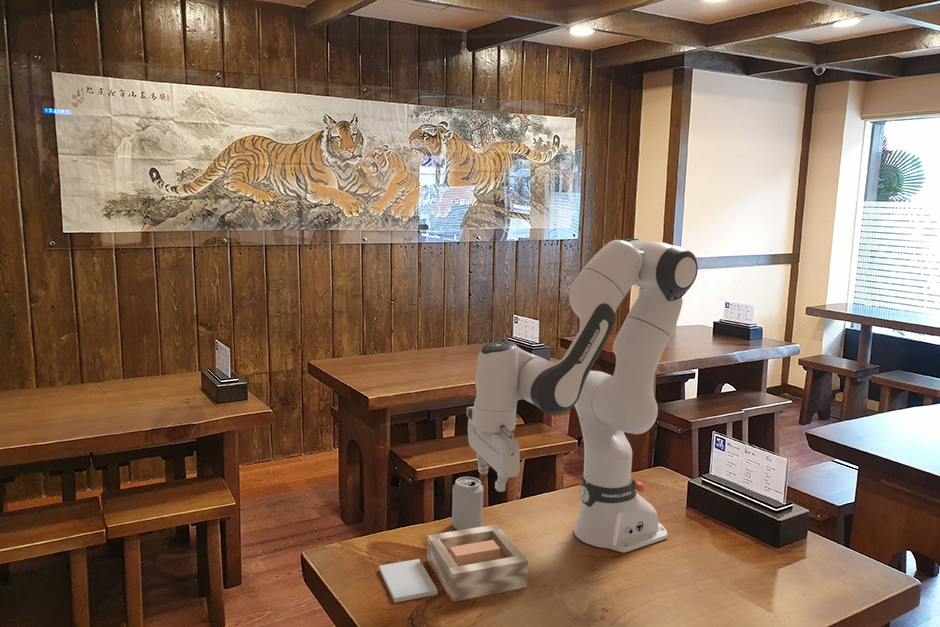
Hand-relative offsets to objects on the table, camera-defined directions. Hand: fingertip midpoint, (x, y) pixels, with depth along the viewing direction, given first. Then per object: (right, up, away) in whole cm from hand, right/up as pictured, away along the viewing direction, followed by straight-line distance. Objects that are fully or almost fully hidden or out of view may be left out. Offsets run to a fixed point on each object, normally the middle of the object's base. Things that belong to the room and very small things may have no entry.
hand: (491, 481), depth 151 cm
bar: (-3, -17, +2) cm, 18 cm away
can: (-5, -17, +23) cm, 29 cm away
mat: (-18, -21, -2) cm, 27 cm away
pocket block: (-4, -20, +2) cm, 21 cm away
